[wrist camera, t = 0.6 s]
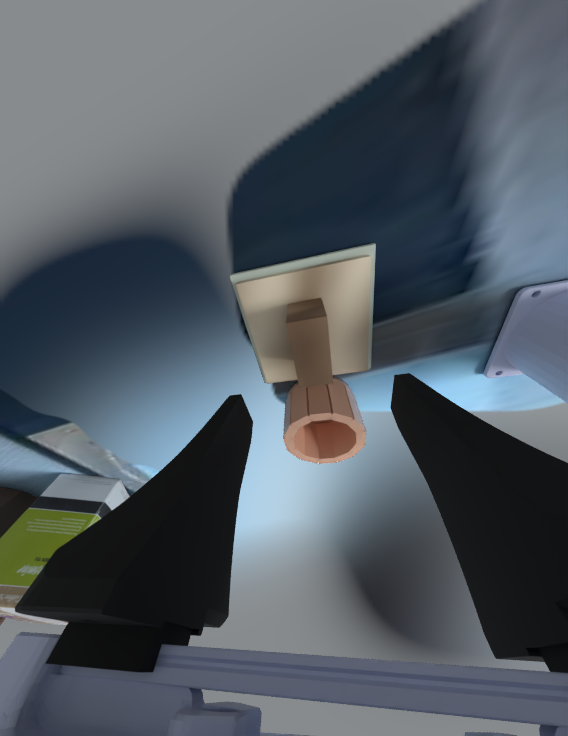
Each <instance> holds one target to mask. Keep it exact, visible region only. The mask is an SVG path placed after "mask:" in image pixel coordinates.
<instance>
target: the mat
mask: <svg viewBox="0 0 568 736" xmlns="http://www.w3.org/2000/svg"><path fill="white" fill-rule="evenodd" d="M375 249H376V244H374V243H371V244H367V245H362V246H358V247H353V248H348V249H344V250H339V251H335V252H330V253H326V254H321V255H316V256H312V257H307V258H303V259H298V260H293V261H289V262H284V263H280V264H275V265H271V266H266V267H261V268H257V269H252V270H248V271H243V272H238V273H234V274H231V275H230V279H231V282H232V285H233V288H234V291H235V294H236V298H237V301H238V304H239V307H240V310H241V313H242V316H243V319H244V322H245V325H246V328H247V331H248V334H249V337H250V340H251V343H252V346H253V349H254V352H255V355H256V358H257V361H258V364H259V368H260V371H261V374H262V377H263V380H264V382H265V383H267V381H266V378H265V375H264V372H263V369H262V365H261V362H260V359H259V356H258V353H257V350H256V347H255V343H254V340H253V337H252V334H251V331H250V328H249V325H248V322H247V318H246V315H245V312H244V309H243V306H242V303H241V300H240V297H239V293H238V290H237V287H236V283H237V282H239V281H244V280H248V279H253V278H258V277H263V276H267V275H272V274H277V273H281V272H286V271H291V270H296V269H300V268H305V267H310V266H315V265H319V264H324V263H329V262H334V261H338V260H343V259H348V258H353V257H357V256H362V255H367V254H368V255H370V256H371V272H370V307H369V341H368V369H371V351H372V326H373V300H374V275H375Z"/></svg>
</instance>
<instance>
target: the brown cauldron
mask: <svg viewBox="0 0 568 736" xmlns="http://www.w3.org/2000/svg"><path fill="white" fill-rule="evenodd" d="M37 498H38V497H35V496H33V495H31V494H28V493H26V492H24V491H20V490H15V489H9V488H4V487H0V538H1V537H2V536H3V535H4V534H5V533H6V532H7V531H8V530H9V528H10V527H11V526H12V525H13V524H14V523H15V522H16V521H17V520H18V519H19V518H20V517H21V516H22V514H23V513H24V512H25V511H26V510H27V509H28V508H29V507H30V506H31V505H32V504H33V503H34V502H35V500H36V499H37ZM4 620H5V617H1V616H0V625H1V624H2V622H3V621H4Z"/></svg>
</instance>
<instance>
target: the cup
mask: <svg viewBox="0 0 568 736" xmlns="http://www.w3.org/2000/svg"><path fill="white" fill-rule="evenodd" d="M283 439H284V442H285V445H286V448H287V450H288V451H289V452H290V453H292V454H293V455H294V456H296V457H297V458H299V459H301V460H304V461H308V462H313V463H318V462H319V464H321V463H336V462H337V461H338V462H340V461H343V460H345V459H347V458H350V457H353V456H354V455H356V454H357V453H358V452H359V451H360V450H361V449H362V448H363V447H364V446H365V444H366V429H365V426H364V423H363V420H362V417H361V414H360V411H359V408H358V405H357V402H356V399H355V396H354V394H353V393H352V390H351V388H350V387H349V386H348V384H347V383H346V382H344V381H343V380H341V379H339V378H337V377H334V376H333V384H325V385H317V386H309V387H301V388H299V383H298V382H296V383H295V384H294V385H293V386H292V387H291V388H290V390H289V392H288V394H287V401H286V403H285V419H284V436H283Z"/></svg>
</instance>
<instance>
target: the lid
mask: <svg viewBox="0 0 568 736" xmlns="http://www.w3.org/2000/svg"><path fill="white" fill-rule="evenodd" d="M370 272H371V256H370V255H368V254H367V255H362V256H357V257H353V258H348V259H343V260H338V261H334V262H329V263H324V264H319V265H315V266H310V267H305V268H300V269H296V270H291V271H286V272H281V273H277V274H272V275H267V276H263V277H258V278H253V279H248V280H244V281H239V282H237V283H236V287H237V290H238V293H239V297H240V300H241V303H242V306H243V309H244V312H245V315H246V318H247V322H248V325H249V328H250V331H251V334H252V337H253V340H254V343H255V347H256V350H257V353H258V356H259V359H260V362H261V365H262V369H263V372H264V375H265V378H266V381H267V383H276V382H284V381H291V380H298V383H299V388H301V387H309V386H317V385H325V384H333V375H338V374H346V373H353V372H361V371H368V341H369V307H370Z"/></svg>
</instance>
